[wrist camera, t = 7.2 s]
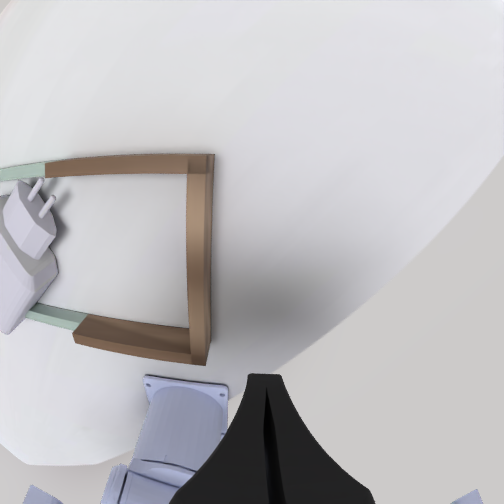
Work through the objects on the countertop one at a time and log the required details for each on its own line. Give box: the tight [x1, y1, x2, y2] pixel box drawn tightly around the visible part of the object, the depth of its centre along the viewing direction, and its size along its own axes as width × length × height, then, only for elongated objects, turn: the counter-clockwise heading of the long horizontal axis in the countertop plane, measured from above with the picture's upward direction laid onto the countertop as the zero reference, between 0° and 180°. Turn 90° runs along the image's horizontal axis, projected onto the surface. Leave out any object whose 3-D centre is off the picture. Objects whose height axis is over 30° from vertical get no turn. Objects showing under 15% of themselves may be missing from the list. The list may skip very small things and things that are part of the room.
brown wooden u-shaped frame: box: [45, 154, 215, 366], centre depth 18 cm, size 14×11×3 cm
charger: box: [0, 178, 58, 335], centre depth 17 cm, size 5×9×15 cm
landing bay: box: [0, 159, 88, 331], centre depth 18 cm, size 14×18×2 cm
